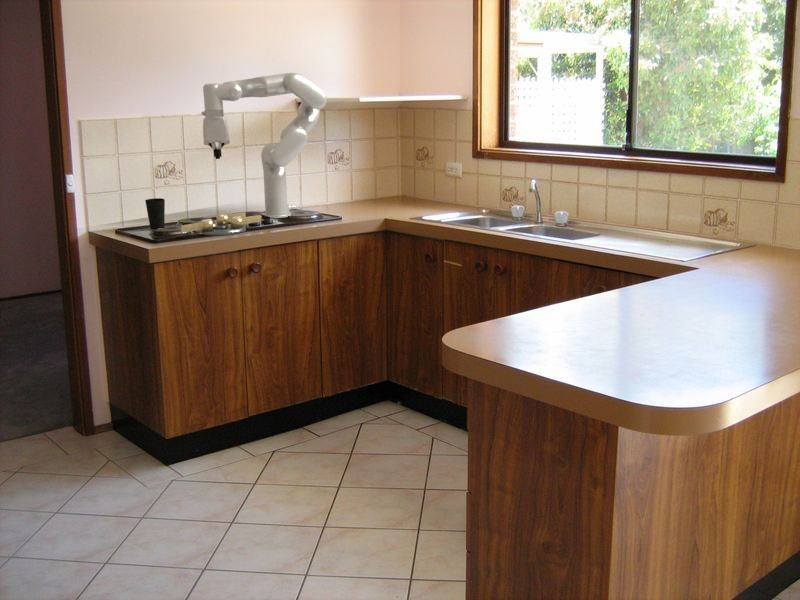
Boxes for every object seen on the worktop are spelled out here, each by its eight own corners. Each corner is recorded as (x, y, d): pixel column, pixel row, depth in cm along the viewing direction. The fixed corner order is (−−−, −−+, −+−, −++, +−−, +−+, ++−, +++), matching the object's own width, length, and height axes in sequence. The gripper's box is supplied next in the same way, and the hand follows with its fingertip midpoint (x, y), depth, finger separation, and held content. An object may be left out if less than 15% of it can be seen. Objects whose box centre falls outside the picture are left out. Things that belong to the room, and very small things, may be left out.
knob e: (208, 228, 362) (208, 217, 361) (216, 229, 359) (215, 219, 358) (179, 233, 352) (178, 223, 351) (186, 234, 349) (185, 224, 348)
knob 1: (222, 225, 366) (221, 215, 365) (214, 224, 369) (213, 214, 368) (248, 220, 377) (247, 210, 376) (240, 219, 380) (240, 209, 378)
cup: (155, 231, 364) (153, 202, 361) (143, 229, 369) (141, 200, 365) (170, 228, 370) (168, 199, 367) (159, 226, 375) (156, 197, 371)
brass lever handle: (235, 228, 360) (234, 218, 359) (228, 226, 364) (227, 216, 363) (263, 223, 370) (263, 213, 369) (257, 222, 373) (256, 212, 372)
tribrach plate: (225, 224, 377) (225, 218, 377) (256, 230, 364) (255, 223, 364) (185, 231, 363) (185, 225, 362) (215, 237, 350) (215, 231, 349)
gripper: (194, 115, 369) (198, 160, 374) (231, 114, 370) (235, 159, 375) (197, 114, 376) (201, 158, 381) (233, 113, 377) (236, 157, 382)
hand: (217, 158), depth 378 cm, fingers closed
